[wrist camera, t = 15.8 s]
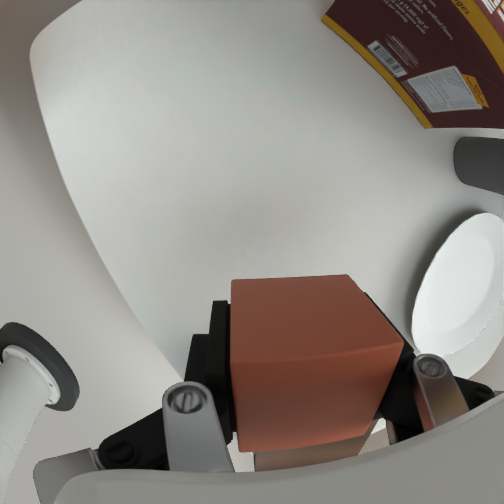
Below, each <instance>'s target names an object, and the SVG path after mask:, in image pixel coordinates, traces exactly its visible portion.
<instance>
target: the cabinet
mask: <svg viewBox="0 0 504 504" xmlns="http://www.w3.org/2000/svg"><path fill="white" fill-rule="evenodd" d="M378 420H379V419H376V420H372V421H371V423H370V425H369V427H368V429H367V431H366V433H365V434H364V435H361V436H357V437H353V438H349V439H344V440H340V441H335V442H330V443H324V444H319V445H313V446H306V447H299V448H292V449H283V450H273V451H260V452H253V455H254V468H255V472H257V471H270V470H280V469H289V468H296V467H303V466H309V465H315V464H320V463H326V462H331V461H335V460H340V459H344V458H348V457H352V456H356V455H358V453H359V452H360V450H361V449H362V447H363V445H364V444H365V442H366V441H367V439H368V437H369V435H370V434H371V432H372V430H373V429H374V427H375V425H376V423H377V421H378Z"/></svg>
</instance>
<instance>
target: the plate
mask: <svg viewBox="0 0 504 504" xmlns="http://www.w3.org/2000/svg"><path fill="white" fill-rule="evenodd" d="M503 297H504V221H503V220H502V219H501V218H500V217H499V216H498V215H495V214H492V213H489V212H485V213H480V214H475V215H473V216H472V217H470V218H468V219H467V220H465V221H463V222H462V223H461V224H460V225H459V226H458V227H457V228H456V229H455V230H454V231H453V232H452V233H451V234H450V235H449V236H448V238H447V239H446V240H445V242H444V243H443V244H442V246H441V247H440V249H439V250H438V251H437V252H436V254H435V256H434V258H433V260H432V262H431V264H430V265H429V267H428V269H427V271H426V273H425V275H424V278H423V280H422V283H421V285H420V288H419V290H418V293H417V296H416V300H415V304H414V308H413V312H412V325H411V332H412V336H413V341H414V344H415V346H416V347H417V349H418V350H419V352H420V353H422V354H425V353H426V354H434V355H437V356H439V357H444V356H448V355H451V354H453V353H455V352H457V351H459V350H461V349H462V348H464V347H465V346H466V345H468V344H469V343H470V342H472V341H473V340H474V339H475V338H476V337H477V336H478V335H479V334H480V333H481V332H482V331H483V330H484V328H485V327H486V326H487V324H488V323H489V322H490V321H491V319H492V318H493V316H494V314H495V313H496V311H497V309H498V308H499V306H500V304H501V302H502V299H503Z"/></svg>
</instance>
